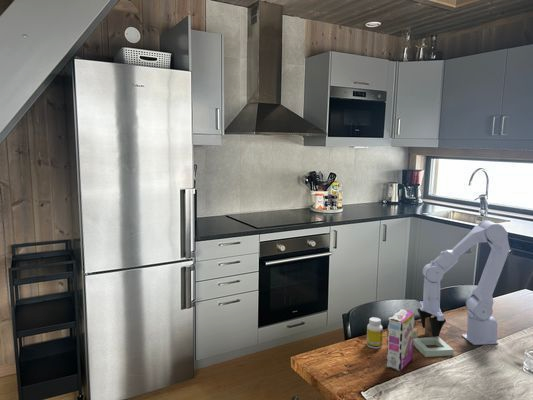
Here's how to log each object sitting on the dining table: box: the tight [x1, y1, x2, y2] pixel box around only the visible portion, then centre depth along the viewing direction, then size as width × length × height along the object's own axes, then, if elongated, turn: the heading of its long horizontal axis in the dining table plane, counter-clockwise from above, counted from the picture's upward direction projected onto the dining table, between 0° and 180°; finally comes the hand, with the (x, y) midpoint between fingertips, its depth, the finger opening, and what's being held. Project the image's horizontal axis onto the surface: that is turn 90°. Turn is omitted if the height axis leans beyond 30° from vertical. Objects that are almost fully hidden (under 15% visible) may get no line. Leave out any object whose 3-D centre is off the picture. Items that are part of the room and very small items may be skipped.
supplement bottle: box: [366, 316, 383, 349], centre depth 145 cm, size 5×5×10 cm
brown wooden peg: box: [424, 317, 433, 338], centre depth 151 cm, size 4×4×7 cm
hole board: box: [413, 337, 455, 358], centre depth 142 cm, size 10×10×2 cm
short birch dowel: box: [413, 328, 419, 338], centre depth 149 cm, size 4×4×4 cm
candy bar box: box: [386, 308, 415, 372], centre depth 132 cm, size 11×5×16 cm, turn 141°
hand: (430, 331), depth 151 cm, fingers open, 7 cm apart
